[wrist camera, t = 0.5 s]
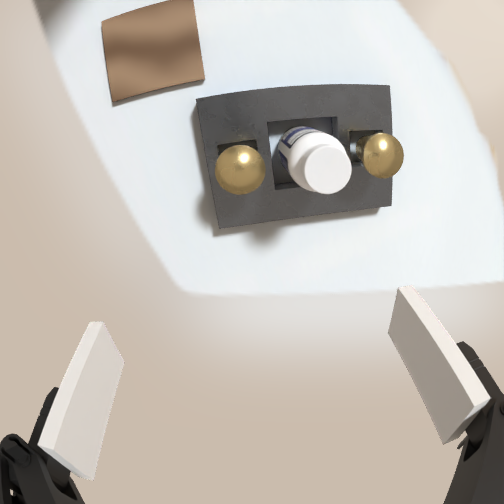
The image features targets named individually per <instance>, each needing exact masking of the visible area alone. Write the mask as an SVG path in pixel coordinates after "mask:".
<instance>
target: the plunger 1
mask: <svg viewBox="0 0 504 504" xmlns="http://www.w3.org/2000/svg"><path fill="white" fill-rule="evenodd" d="M265 172H266V168H265V163H264V160H263V158H262V156H261V155H260V154H259V153H258V151H256V150H255V149H254V148H252V147H250V146H246V145H234V146H231V147H229V148H227V149H225V150H224V151H223V152H222V153H221V154H220V156H219V157H218V159H217V162H216V165H215V176H216V179H217V181H218V183H219V184H220V186H221V187H222V188H223V189H225V190H226V191H228V192H230V193H233V194H237V195H242V194H248V193H250V192H252V191H254V190H256V189H257V188H258V187H259V186H260V185H261V183H262V182H263V180H264V177H265Z"/></svg>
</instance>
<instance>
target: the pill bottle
mask: <svg viewBox="0 0 504 504" xmlns="http://www.w3.org/2000/svg"><path fill="white" fill-rule="evenodd" d="M278 156H279V159H280V161H281V163H282V165H283V166H284V168H285V169H286V170H287V172H288V173H289V174H290V176H291V177H292V179H293V180H294V181H295V182H296V183H297V184H298V185H299V186H301V187H302V188H304V189H306V190H309V191H313V192H318V193H321V194H332V193H335V192H338V191H340V190H341V189H342V188H343V187H345V185H346V184H347V183H348V181H349V179H350V176H351V171H352V168H351V162H350V159H349V157H348V156H347V154H346V151H345V149H344V147H343V145H342V144H341V143H340V142H339V141H338V140H337V139H336V138H334V137H333V136H331V135H329V134H326V133H324V132H321V131H319V130H316V129H314V128H311V127H307V126H297V127H294V128H291V129H289V130H288V131H287V132H286V133H285V134H284V135H283V136H282V137H281V139H280V141H279V145H278Z"/></svg>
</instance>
